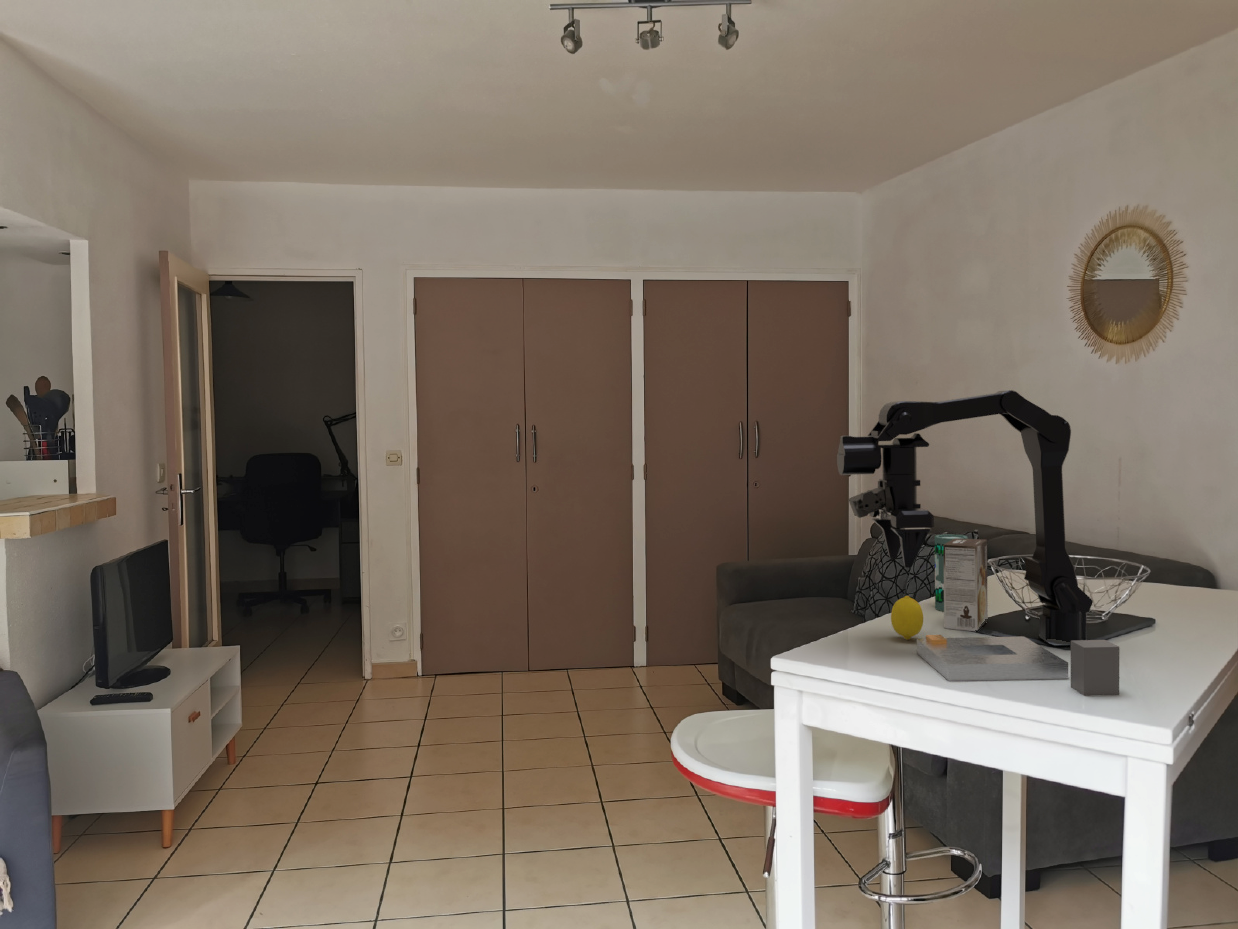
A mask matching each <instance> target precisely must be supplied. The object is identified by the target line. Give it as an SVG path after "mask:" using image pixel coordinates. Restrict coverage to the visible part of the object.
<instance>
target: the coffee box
mask: <svg viewBox="0 0 1238 929" xmlns="http://www.w3.org/2000/svg"><path fill="white" fill-rule="evenodd" d="M943 553H944V612H943V623H944V624H943V627H944V629H947V630H957V631H958V630H959V631H968V632H976V631H975V630H978V629H979V627H980V626H981V624H982V623H983V622H984V621H985V619H988V617H989V615H988V611H989V610H988V609H989V608H988V606H989V605H988V604H989V603H988V599H989V598H988V539H985V538H984V539H982V538H981V539H980V538H979V539H977V538H968V539H958V538H954V539H952V540H951V541H949V542H947V543H946V544H944V545H943Z"/></svg>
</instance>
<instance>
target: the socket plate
mask: <svg viewBox="0 0 1238 929" xmlns="http://www.w3.org/2000/svg"><path fill="white" fill-rule="evenodd" d="M917 654H918V656H919V657H921V658H922V659H923V660H924V661H925V662H926V663H927V664H928V665H929V666H931V667H932V668H933V669H934V670H935V671H936V672H938V673H939V674H940V675H941V676H942V677H943V678H945V679H946V681H948V682H961V681H962V682H964V681H965V682H966V681H967V682H968V681H1019V680H1021V681H1022V680H1023V681H1024V680H1068V679H1069V662H1068V661H1067V660H1065V659H1063V658H1061V657H1060V656H1058V655H1056V654H1054V653H1053V652H1051V651H1050V650H1048V649H1046V648H1044V647H1043V646H1041V645H1039V644H1037V643H1036V642H1034V641H1032V640H1031V639H1030V638H1028V637H1026V636H987V637H986V636H985V637H979V636H977V637H945V636H942V635H941V634H926V635H925V637H924V638H923V637H922V638H921V637H920V638H916V655H917Z"/></svg>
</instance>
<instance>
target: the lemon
mask: <svg viewBox="0 0 1238 929" xmlns="http://www.w3.org/2000/svg"><path fill="white" fill-rule="evenodd" d="M890 621H891V626H892V628H893V629H894V631H895V633H897V634H898V635H899V636H902V637H903V639H904V640H907V641H908V640H911V639H912V637H916V635H918V634H919V633H920V632H921V630H922V628H923V626H924V613H923V609H922V607H921V604H920V603H919V602H918V601H917V600H915V599H914V598H912V597H910V596H909V595H905V596H904V597H902V598H899V599H898V600H896V601H895V602H894V604H893V606H892V609H891V614H890Z"/></svg>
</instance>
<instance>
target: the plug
mask: <svg viewBox="0 0 1238 929" xmlns="http://www.w3.org/2000/svg"><path fill="white" fill-rule="evenodd" d="M1070 689H1072V690H1074V691H1076V692H1077V693H1079V694H1080V695H1082V696H1087V697H1089V696H1090V697H1091V696H1092V697H1093V696H1097V697H1098V696H1120V646H1118V645H1117V644H1115V643H1113V642H1111V641H1108V640H1106V639H1090V640H1089V639H1086V640H1072V641H1071V646H1070Z"/></svg>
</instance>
